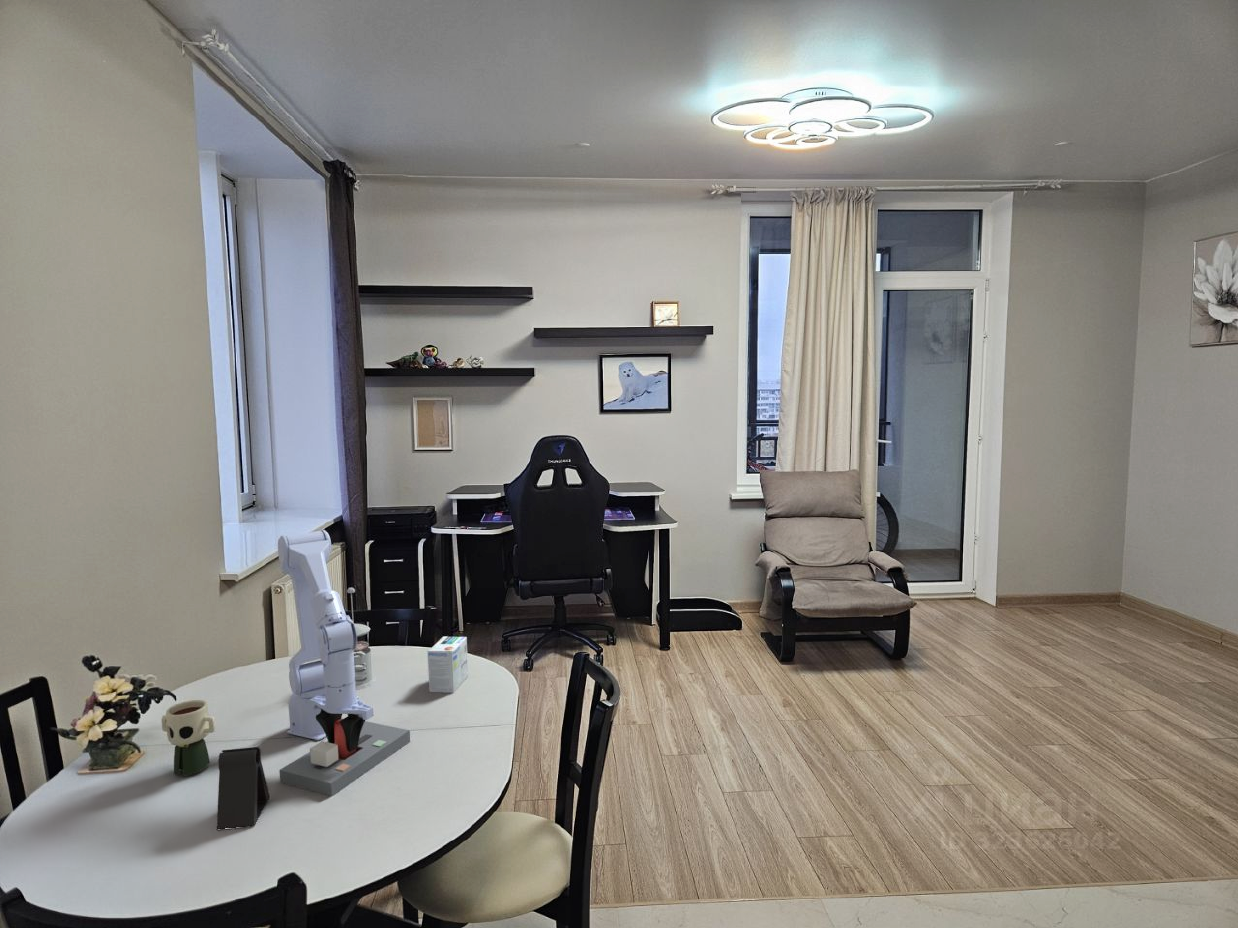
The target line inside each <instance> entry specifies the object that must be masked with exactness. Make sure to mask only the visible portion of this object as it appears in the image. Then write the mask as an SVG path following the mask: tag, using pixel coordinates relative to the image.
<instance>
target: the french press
mask: <svg viewBox="0 0 1238 928" xmlns="http://www.w3.org/2000/svg"><path fill="white" fill-rule="evenodd" d="M355 592H356V589H355V588H354V587H348V589H347V590H346V593H347V594H350V601H351V614H352V615H351V617H352V619H351V620H352V621H353V623H354V608H353V594H354V593H355ZM354 625H355V628H356V633H357V638H358V637H362V636H365V635H367V634H369V633H370V630H371V628H370V627H369V626H367V625H366V624H361V623H354ZM352 649H353V654H354V670H355V687H356V691H359V690H362V689H363V690H364V689H366V688H369V687H372V686H373V685H375V683H377V680H378V679H377V678H376V677H375V676H374V675H373V665H372V649H371V648H370V643H369V642H367V641H363V640H361V641H360V640H359V641H357V646H356V648H352ZM363 653H364V654H363Z"/></svg>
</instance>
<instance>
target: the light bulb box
mask: <svg viewBox="0 0 1238 928" xmlns="http://www.w3.org/2000/svg"><path fill="white" fill-rule="evenodd" d="M467 638H468V637H467V636H442V637H441V638H440V639H439V640H438V641H437V642H436V643H435V644H434V645H433V646H431V648H430V649H427V666H428V667H427V668H428V670H427V671H428V686H429V687H428V688H429V692H431V693H448V694H449V693H450V694H454V693H455V691H457V690H458V689H459V687H460V686H461V685H462V684H463V682H464V681H465V680H466V679H467V678H468V677H469V665H468V663H469V661H468V642H467V641H468V639H467Z"/></svg>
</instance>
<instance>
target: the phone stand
mask: <svg viewBox="0 0 1238 928" xmlns="http://www.w3.org/2000/svg"><path fill="white" fill-rule="evenodd" d="M261 756H262V753H261V748H260V746H253V747H252V746H251V747H243V748H242V747H241V748H233V749H222V750H221V752H220V753H219V755H218V762H217V763H218V771H219V772H218V773H219V775H218V792H217V810H216V811H217V814H216V830H217V829H225V828H235V829H237V828H236V827H243V828H249V827H248V826H252V827H255V826H256V824H257V823H256V822H258V821H257V820H259V819H260V817H261V815H262V813H263V812H264V810H265V808H266V806H267V804H268V802H269V801H270V799H269V798H271V796H270V792H269V787H268V784H267V780H266V775H265V770H264V766H263V764H262V763H263V762H262V757H261ZM268 800H269V801H268ZM262 811H263V812H262ZM258 818H259V819H258Z"/></svg>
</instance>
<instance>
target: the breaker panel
mask: <svg viewBox="0 0 1238 928" xmlns="http://www.w3.org/2000/svg"><path fill="white" fill-rule="evenodd" d="M326 742H328V740H327V741H326ZM410 742H411V730H409V729H407V728H406V729H405V728H402V727H401V728H400V727H395V726H391V725H385V724H382V723H381V724H380V723H375V722H371V721H367V720H365V722H364V724H363V727H362V730H361V733H360V737H359V742H358V747H357V748H356V753H355V754H353V755H352V756H350V757H349V758H347V759H346V760H342V759H338V760H337V761H335V762H334V763H332V764H331V765H329V766H328V767H325V766H321V765H317V764H313V763H311V755H310V751H308V752H307V753H305V754H303V755H302V756H301V757H298V758H297V759H295V760H294V761H292V762H291V763H289V764H287V765H285V766H284V767H282V768H280V769H279V782H280V783H281V784H284V785H288V786H291V787H292V786H293V787H296V788H300V789H304V790H307V791H312V792H314V793H319V794H323V795H327V796H331V797H333V796H335V795H336V794H337V793H339V792H341V791H342V790H343V789H344V788H346V787H347V786H349V785H350V784H351V783H353V782H355V781H356V780H358V779H359V778H361V776H363V775H364V774H366V773H367V772H369V771H370V770H372V769H373V768H375V767H376V766H378V765H379V764H380V763H382V762H383V761H384V760H386V759H388V758H389V757H391V756H392V755H393V754H395V753H396V752H397V751H399V750H400V749H402V748H403V747H405V746H406V745H408V744H409V743H410ZM328 743H329V742H328Z"/></svg>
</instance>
